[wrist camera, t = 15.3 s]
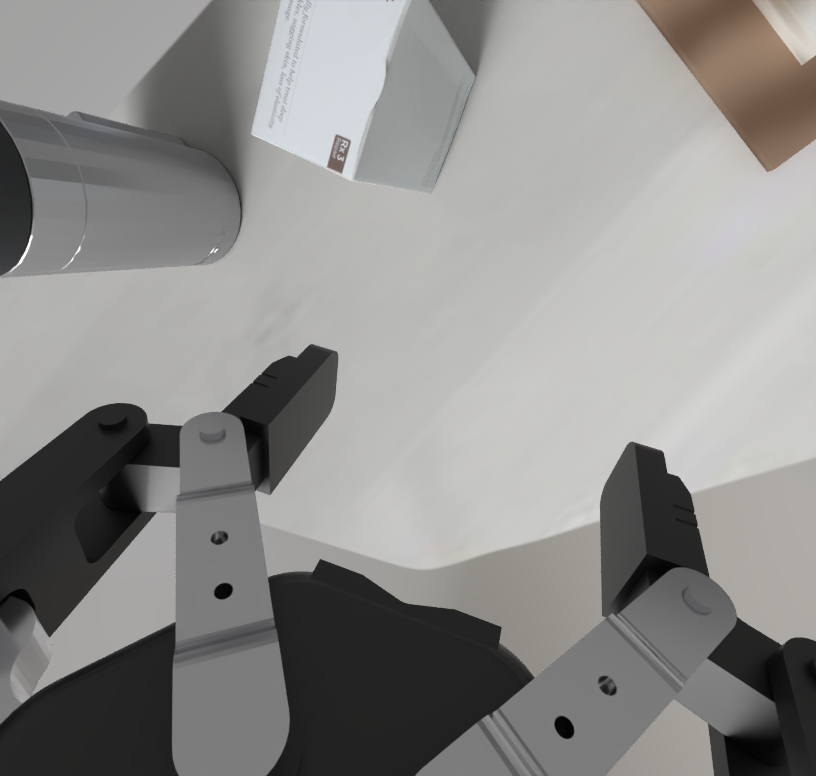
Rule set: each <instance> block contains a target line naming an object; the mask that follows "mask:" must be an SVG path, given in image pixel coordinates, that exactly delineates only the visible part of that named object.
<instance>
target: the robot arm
mask: <svg viewBox="0 0 816 776" xmlns="http://www.w3.org/2000/svg"><path fill="white" fill-rule="evenodd" d="M240 219H241V208H240V202H239V196H238V193H237V190H236V187H235V184H234V182H233V180H232V178H231V176H230V175H229V173H228V171H227V170H226V169H225V168H224V166H223V165H222V164H221V163H220V162H219V161H218V160H217V159H215V158H214V157H213V156H212V155H210V154H208V153H206V152H204V151H202V150H198V149H194V148H190V147H187V146H186V145H185V144H184V143H183V142H182V141H181V139H179V138H177V137H173V136H169V135H165V134H161V133H158V132H154V131H150V130H146V129H142V128H139V127H135V126H131V125H127V124H124V123H120V122H116V121H112V120H108V119H105V118H100V117H97V116H93V115H89V114H86V113H81V112H76V111H75V112H71V113H70V114H69V115H68V116H67V117H66V116H63V115H58V114H54V113H50V112H46V111H42V110H38V109H34V108H30V107H26V106H22V105H17V104H13V103H9V102H5V101H1V100H0V278H6V277H21V276H36V275H50V274H65V273H81V272H97V271H113V270H129V269H145V268H161V267H177V266H193V265H205V264H209V263H213V262H215V261H217V260H219V259H221V258H222V257H223V256H224V255H225V254H226V253H227V252H228V251H229V250H230V248H231V247H232V245H233V244H234V242H235V239H236V237H237V234H238V231H239V226H240ZM337 368H338V353H337V352H336V351H333V350H330V349H326V348H323V347H320V346H316V345H313V344H311V345H309V346H308V347H307V348H306V349H305V350H304V351H303V352H302V353H301V354H300V355H299V356H298V357H297V358H295V357H292V356H287V357H284V358H282V359H280V360H277V361H275V362H273V363H272V364H271V365H270V366H269V367H268V368H267V369H266V370H265V371H263V372H262V375H259V376H258V377H257V378H256V379H255V380H254V381H253V384H252V383H251V384H250V385H249V386H248V387H247V388H246V389H245V390H244V391H243V392H242V393H241V394H239V395H238V396H237V397H236V398H235V399H234V400H233V401H232V402H231V403H230V404H229V405H228V406H227V407H226V408H225V409H224V410H223V411H222V412H209V413H204V414H200V415H198V416H195V417H193V418H191V419H190V420H188V421H187V422H186V423H185V424H184V425H183V426H174V425H161V424H148V419H147V415H146V413H145V411H144V410H143V409H142V408H140V407H138V406H136V405H132V404H127V403H115V404H109V405H105V406H101V407H98V408H96V409H94V410H92V411H90V412H89V413H87V414H86V415H84V416H83V417H82V418H81V419H79V420H78V421H77V422H75V423H74V424H73V425H72V426H70V427H69V428H68V429H66V430H65V431H64V432H63V433H61V434H60V435H59V436H57V437H56V438H55V439H54V440H52V441H51V442H50V443H48V444H47V445H46V446H45V447H43V448H42V449H41V450H39V451H38V452H37V453H36V454H34V455H33V456H32V457H31V458H30V459H28V460H27V461H25V462H24V463H23V464H22V465H20V466H19V467H18V468H16V469H15V470H14V471H13V472H11V473H10V474H9V475H7V476H6V477H5V478H4V479H2V480H1V481H0V776H606V775H607V773H608V772H609V771H610V770H611V769H612V768H613V766H615V764H616V763H617V762H618V761H619V760H620V759H621V758H622V756H623V755H624V754H625V753H626V752H627V751H628V750H629V749H630V747H631V746H632V745H633V744H634V743H635V742H636V741H637V739H638V738H639V737H640V736H641V735H642V734H643V732H645V730H646V729H647V728H648V727H649V726H650V725H651V724H652V723H653V721H654V720H655V719H656V718H657V717H658V716H659V715H660V713H661V712H662V711H663V710H664V709H665V708H666V707H667V705H668V704H669V703H670V702H671V701H672V700H673V699H675V700H676V701H677V702H679V703H680V704H682V705H683V706H684V707H686V708H687V709H689V710H690V711H692V712H693V713H694V714H696V715H697V716H698V717H700V718H701V719H703V720H704V721H706V722H707V723H708V726H709V735H710V744H711V751H712V760H713V769H714V776H816V641H814V640H810V639H807V638H792V639H790V640H788V641H787V642H786V643H785V644H783V645H780V644H779V643H777V642H775V641H774V640H772V639H770V638H769V637H767V636H765V635H764V634H762V633H761V632H759V631H757V630H756V629H754V628H752V627H751V626H749V625H748V624H746V623H745V622H743V621H742V620H740V619H739V618H738V617H737V614H736V610H735V607H734V605H733V603H732V601H731V599H730V598H729V596H728V595H727V593H726V592H725V591H724V590H723V589H722V588H721V587H720V586H719V585H718V584H717V583H716V582H714V581H713V580H712V579H710V577H709V573H708V568H707V564H706V559H705V555H704V551H703V547H702V542H701V537H700V533H699V529H698V528H697V525H698V524H697V520H696V515H695V514H694V506H693V503H692V498H691V494H690V492H689V491H688V490H687V488H686V487H685V485H684V484H683V482H682V481H681V479H680V478H679V477H678V476H675V475H672V474H668V473H667V468H666V463H665V457H664V453H663V451H661V450H658V449H654V448H651V447H648V446H644V445H641V444H638V443H635V442H630V443H629V444H628V445H627V446H626V448H625V450H624V451H623V453H622V455H621V457H620V459H619V460H618V462H617V464H616V466H615V468H614V469H613V471H612V473H611V475H610V477H609V478H608V480H607V482H606V484H605V486H604V489H603V492H602V496H601V501H600V524H601V525H600V526H601V527H600V528H601V575H602V576H601V578H602V616H604V617H607V618H606V619H605V620H603V621H602V622H601V623H600V624H598V625H597V626H596V627H595V628H594V629H592V630H591V631H590V632H589V633H588V634H587V635H585V636H584V637H583V638H582V639H581V640H579V641H578V642H577V643H576V644H575V645H573V646H572V647H571V648H570V649H569V650H568V651H566V652H565V653H564V654H563V655H562V656H560V657H559V658H558V659H557V660H556V661H554V662H553V663H552V664H551V665H550V666H549V667H548V668H546V669H545V670H544V671H543V672H542V673H540V674H539V675H538V676H537V677H535V678H534V676H533V675H532V674H531V672H530V671H529V670H528V669H527V667H526V666H525V665H524V664H523V663H522V662H521V661H520V660H519V659H518V658H517V657H516V656H515V655H514V654H513V653H512V652H511V651H509V650H508V649H507V648H506V647H504V646H503V645H501V644H500V643H499V640H500V633H501V627H500V626H497V625H495V624H492V623H489V622H487V621H484V620H481V619H479V618H476V617H473V616H470V615H468V614H465V613H462V612H460V611H457V610H454V609H446V608H437V607H429V606H421V605H412V604H406V603H404V602H402V601H400V600H398V599H397V598H395V597H394V596H392V595H391V594H390V593H388V592H387V591H385V590H384V589H382V588H381V587H379V586H378V585H377V584H375V583H373V582H372V581H371V580H369V579H368V578H366V577H365V576H363V575H361V574H359V573H356V572H353V571H350V570H348V569H345V568H343V567H340V566H337V565H335V564H332V563H329V562H326V561H324V560H321V559H320V560H319V562H318V564H317V566H316V568H315V570H314V571H313V572H288V573H282V574H278V575H274V576H270V577H268V576H267V569H266V563H265V556H264V549H263V543H262V536H261V530H260V523H259V516H258V509H257V502H256V496H255V491H256V490H257V491H260V492H263V493H266V494H269V495H271V493H272V492H273V491H274V489H275V488H276V487H277V485H278V484H279V482H280V481H281V480H282V478H283V477H284V476H285V474H286V473H287V472H288V470H289V469H290V467H291V466H292V465H293V463H294V462H295V461H296V459H297V458H298V457H299V455H300V454H301V452H302V451H303V450H304V448H305V447H306V446H307V444H308V443H309V441H310V440H311V439H312V437H313V436H314V435H315V433H316V432H317V431H318V429H319V428H320V426H321V425H322V424H323V422H324V421H325V420H326V418H327V417H328V415H329V414H330V412H331V409H332V407H333V404H334V400H335V394H336V381H337ZM157 512H164V513H176V622H174V623H172V624H170V625H168V626H166V627H164V628H162V629H161V630H158V631H156V632H154V633H152V634H150V635H148V636H146V637H144V638H142V639H140V640H138V641H136V642H134V643H132V644H130V645H128V646H126V647H124V648H122V649H120V650H118V651H116V652H114V653H112V654H110V655H108V656H106V657H104V658H102V659H100V660H98V661H96V662H94V663H92V664H90V665H88V666H86V667H83V668H81V669H80V670H77V671H75V672H74V673H71V674H69V675H67V676H65V677H64V678H61V679H60V680H57V681H56V682H54V683H52V684H50V685H48V686H47V687H45V688H43V689H42V690H40V691H39V692H37V693H36V694H34V695H33V696H32V694H33V691H34V690H35V688H36V686H37V684H38V681H39V680H40V678H41V677H42V675H43V674H44V672H45V670H46V669H47V667H48V665H49V663H50V659H51V655H52V644H51V641H50V639H49V637H50V636H51V635H52V634H53V633H54V632H55V630H56V629H57V628H58V627H59V626H60V625H61V624H62V622H63V621H64V620H65V619H66V618H67V617H68V615H69V614H70V613H71V612H72V611H73V610H74V608H75V607H76V606H77V605H78V604H79V603H80V601H81V600H82V599H83V598H84V597H85V596H86V594H87V593H88V592H89V591H90V590H91V588H92V587H93V586H94V585H95V584H96V583H97V582H98V580H99V579H100V578H101V577H102V576H103V575H104V573H105V572H106V571H107V570H108V569H109V568H110V566H111V565H112V564H113V563H114V562H115V561H116V559H117V558H118V557H119V556H120V555H121V554H122V553H123V551H124V550H125V549H126V548H127V546H129V544H130V543H131V542H132V541H133V539H134V538H135V537H136V536H137V535H138V534H139V533H140V531H141V530H142V529H143V528H144V527H145V525H146V524H147V523H148V522H149V521H150V520H151V518H152V517H153V516H154V515H155V514H156V513H157Z"/></svg>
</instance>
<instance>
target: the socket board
mask: <svg viewBox="0 0 816 776" xmlns="http://www.w3.org/2000/svg"><path fill="white" fill-rule="evenodd" d="M636 1H637V2H638V3H639V4H640V6H641V7H642V8H643V10H644V11H645V12H646V14H647V15H648V16H649V18H650V19H651V20H652V22H653V23H654V24H655V25H656V27H657V28H658V29H659V31H660V32H661V33H662V35H663V36H664V37H665V39H666V40H667V41H668V42H669V44H670V45H671V46H672V48H673V49H674V50H675V52H676V53H677V54H678V56H679V57H680V58H681V59H682V61H683V62H684V63H685V65H686V66H687V67H688V69H689V70H690V71H691V73H692V74H693V75H694V76H695V78H696V79H697V80H698V82H699V83H700V84H701V86H702V87H703V88H704V90H705V91H706V92H707V93H708V95H709V96H710V97H711V99H712V100H713V101H714V103H715V104H716V105H717V107H718V108H719V109H720V110H721V112H722V113H723V114H724V116H725V117H726V118H727V120H728V121H729V122H730V124H731V125H732V126H733V128H734V129H735V130H736V131H737V133H738V134H739V135H740V137H741V138H742V139H743V141H744V142H745V143H746V145H747V146H748V147H749V148H750V150H751V151H752V152H753V154H754V155H755V156H756V158H757V159H758V160H759V162H760V163H761V164H762V165H763V167H764V168H765V169H766V171H767V172H768V171H771V170H774V169H775V168H777V167H778V166H779V165H781V164H782V163H783V162H785V161H786V160H788V159H789V158H790V157H792V156H793V155H794V154H796V153H797V152H799V151H800V150H801V149H803V148H804V147H805V146H807V145H808V144H810V143H811V142H812V141H814V140H815V139H816V0H636Z"/></svg>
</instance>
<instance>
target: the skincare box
mask: <svg viewBox="0 0 816 776" xmlns="http://www.w3.org/2000/svg"><path fill="white" fill-rule="evenodd" d="M475 78H476V76H475V74H474V73H473V71H472V69H471V68H470V66H469V65H468V63H467V61H466V60H465V58H464V57H463V55H462V53H461V52H460V50H459V48H458V47H457V45H456V43H455V42H454V40H453V39H452V37H451V35H450V34H449V32H448V30H447V29H446V27H445V25H444V23H443V22H442V20H441V19H440V17H439V15H438V14H437V12H436V10H435V9H434V7H433V5H432V4H431V2H430V0H280V5H279V9H278V14H277V19H276V23H275V28H274V32H273V36H272V40H271V45H270V49H269V54H268V58H267V63H266V67H265V72H264V76H263V81H262V86H261V90H260V95H259V99H258V104H257V108H256V112H255V117H254V121H253V126H252V130H251V134H252V135H254V136H256V137H258V138H260V139H262V140H265V141H267V142H269V143H271V144H273V145H275V146H278V147H280V148H282V149H284V150H286V151H288V152H290V153H293V154H295V155H297V156H299V157H301V158H303V159H305V160H308V161H310V162H312V163H314V164H316V165H318V166H321V167H323V168H325V169H327V170H329V171H331V172H334V173H336V174H338V175H340V176H342V177H344V178H346V179H348V180H351V181H354V182H361V183H367V184H373V185H379V186H385V187H390V188H396V189H402V190H408V191H414V192H420V193H426V194H431V192H432V190H433V187H434V185H435V183H436V180H437V177H438V175H439V172H440V170H441V167H442V164H443V162H444V159H445V157H446V154H447V152H448V149H449V147H450V144H451V141H452V139H453V136H454V134H455V131H456V128H457V126H458V123H459V121H460V118H461V115H462V112H463V109H464V106H465V103H466V100H467V97H468V95H469V92H470V90H471V87H472V85H473V83H474V80H475Z"/></svg>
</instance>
